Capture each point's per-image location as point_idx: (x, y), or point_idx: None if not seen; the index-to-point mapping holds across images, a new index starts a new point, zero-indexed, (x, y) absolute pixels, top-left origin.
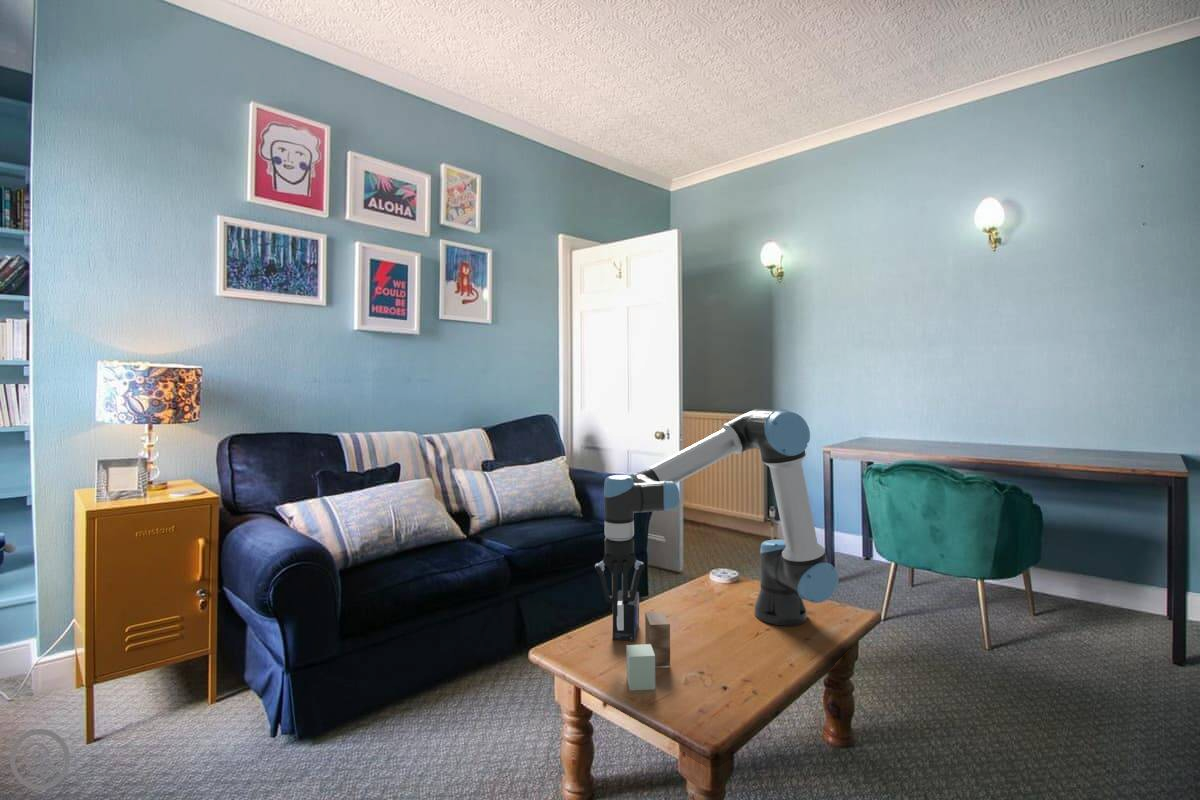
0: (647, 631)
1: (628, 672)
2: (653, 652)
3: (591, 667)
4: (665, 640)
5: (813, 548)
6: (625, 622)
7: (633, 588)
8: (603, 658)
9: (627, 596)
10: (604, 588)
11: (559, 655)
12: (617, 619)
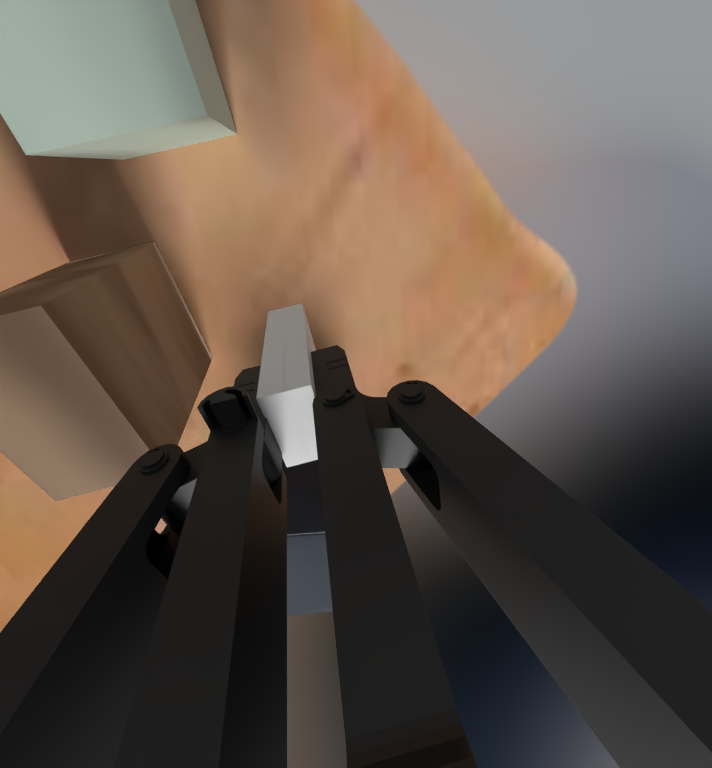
0: (152, 367)
1: (189, 5)
2: None
3: (399, 216)
4: (8, 294)
5: None
6: (303, 468)
7: (82, 588)
8: (360, 296)
9: (203, 472)
10: (524, 483)
11: (512, 295)
12: (310, 346)
